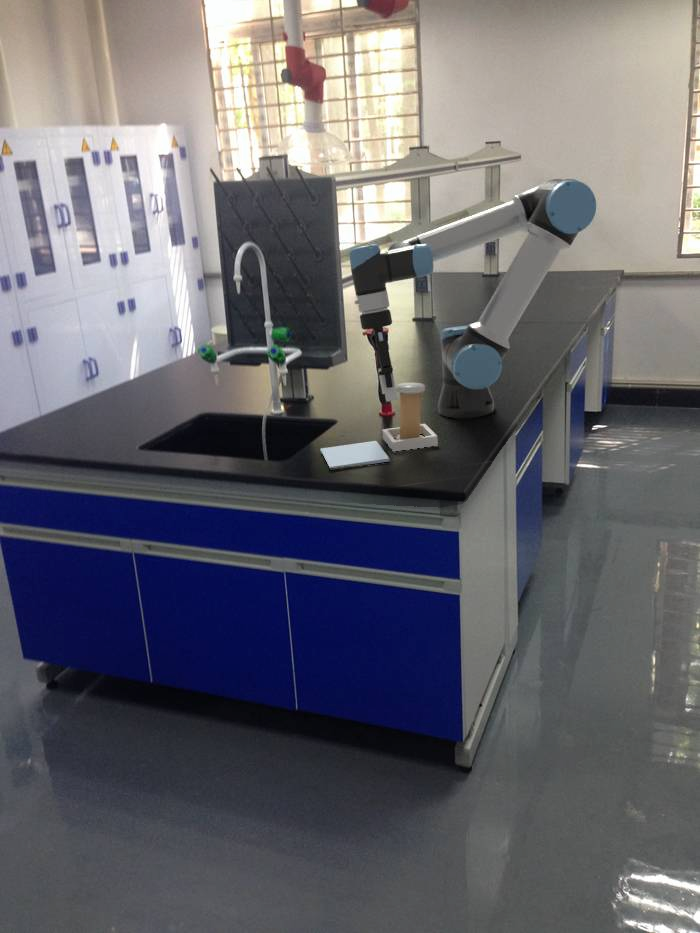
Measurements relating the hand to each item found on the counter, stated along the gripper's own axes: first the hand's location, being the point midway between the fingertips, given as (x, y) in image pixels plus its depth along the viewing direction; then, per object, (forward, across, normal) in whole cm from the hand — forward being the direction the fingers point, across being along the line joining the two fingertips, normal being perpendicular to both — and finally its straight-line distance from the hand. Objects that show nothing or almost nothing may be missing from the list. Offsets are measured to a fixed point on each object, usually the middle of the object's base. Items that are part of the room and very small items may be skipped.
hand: (389, 396), depth 207 cm
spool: (+11, +4, +3) cm, 12 cm away
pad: (+11, +11, -11) cm, 19 cm away
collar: (+11, +4, +3) cm, 12 cm away
